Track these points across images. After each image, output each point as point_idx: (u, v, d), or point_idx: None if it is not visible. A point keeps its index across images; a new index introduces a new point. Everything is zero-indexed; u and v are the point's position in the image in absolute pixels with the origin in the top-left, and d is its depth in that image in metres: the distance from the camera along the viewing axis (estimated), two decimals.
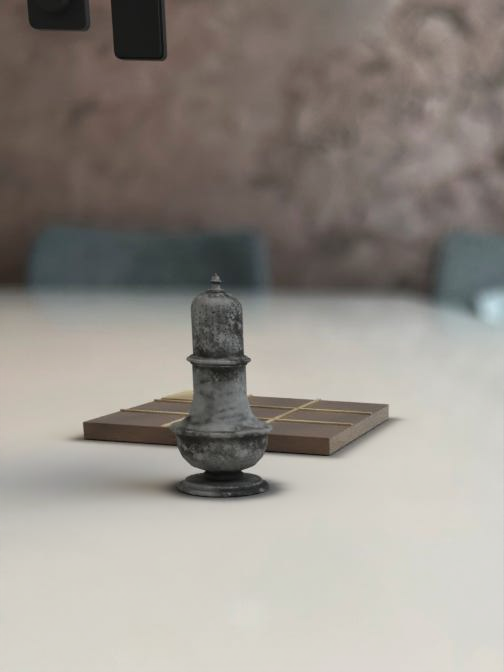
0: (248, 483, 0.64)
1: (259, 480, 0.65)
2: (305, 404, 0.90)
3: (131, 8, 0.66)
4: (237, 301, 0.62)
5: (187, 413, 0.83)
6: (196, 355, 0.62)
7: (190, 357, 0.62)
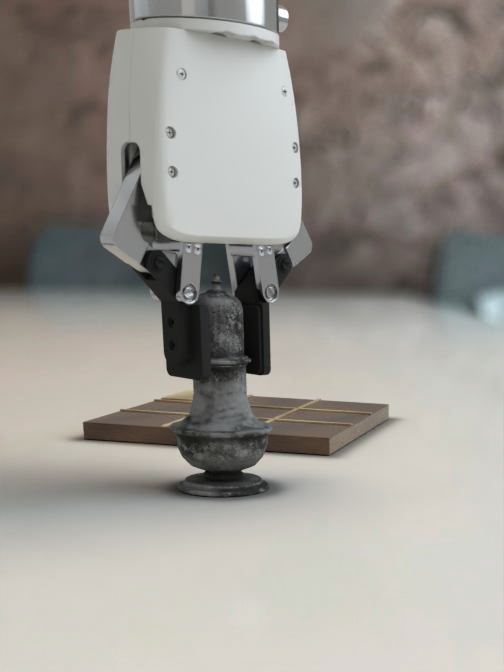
0: (248, 483, 0.64)
1: (259, 480, 0.65)
2: (305, 404, 0.90)
3: None
4: (237, 301, 0.62)
5: (187, 413, 0.83)
6: None
7: None
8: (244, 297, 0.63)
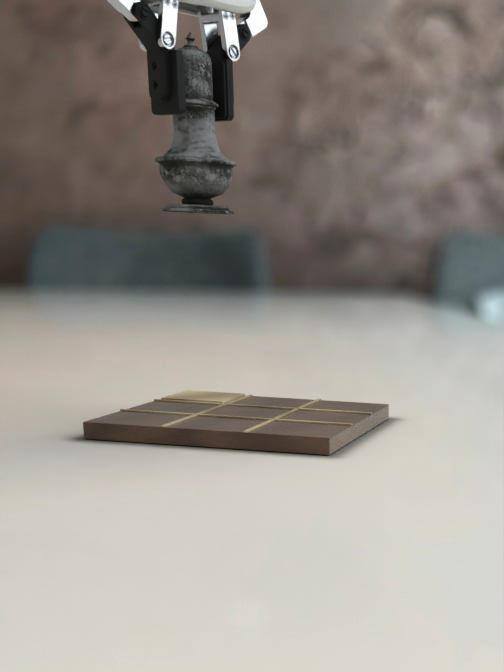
0: None
1: (225, 206, 0.82)
2: (305, 404, 0.90)
3: None
4: (207, 55, 0.79)
5: (187, 413, 0.83)
6: None
7: None
8: (212, 56, 0.81)
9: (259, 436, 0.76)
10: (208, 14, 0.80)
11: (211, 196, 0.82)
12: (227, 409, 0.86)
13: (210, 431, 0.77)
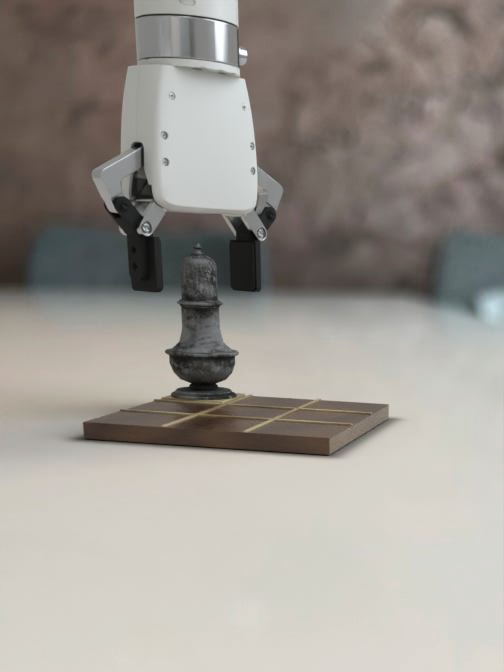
0: (221, 391, 0.90)
1: (229, 390, 0.91)
2: (305, 404, 0.90)
3: (239, 256, 0.91)
4: (212, 261, 0.88)
5: (187, 413, 0.83)
6: (183, 299, 0.88)
7: (179, 301, 0.88)
8: None
9: (259, 436, 0.76)
10: None
11: (216, 382, 0.91)
12: (227, 409, 0.86)
13: (210, 431, 0.77)
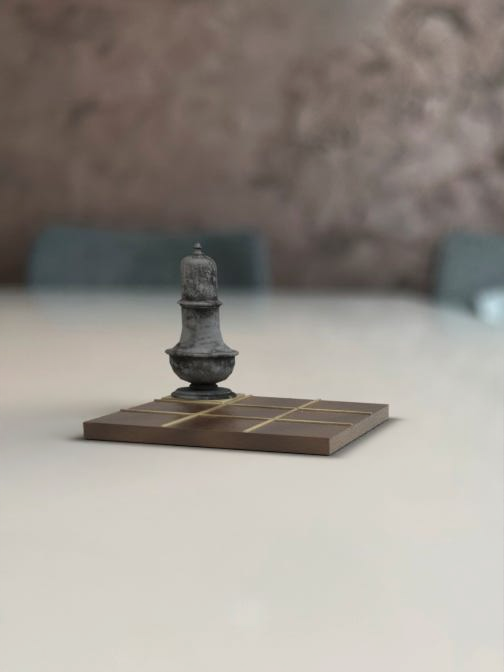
0: (221, 392, 0.90)
1: (229, 390, 0.91)
2: (305, 404, 0.90)
3: None
4: (212, 261, 0.88)
5: (187, 413, 0.83)
6: (183, 299, 0.88)
7: (179, 301, 0.88)
8: None
9: (259, 436, 0.76)
10: None
11: (216, 382, 0.91)
12: (227, 409, 0.86)
13: (210, 431, 0.77)
